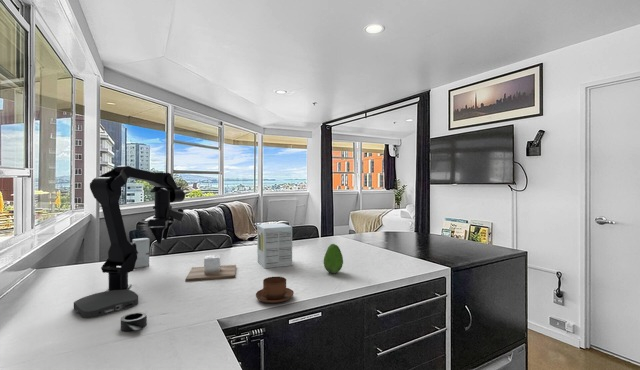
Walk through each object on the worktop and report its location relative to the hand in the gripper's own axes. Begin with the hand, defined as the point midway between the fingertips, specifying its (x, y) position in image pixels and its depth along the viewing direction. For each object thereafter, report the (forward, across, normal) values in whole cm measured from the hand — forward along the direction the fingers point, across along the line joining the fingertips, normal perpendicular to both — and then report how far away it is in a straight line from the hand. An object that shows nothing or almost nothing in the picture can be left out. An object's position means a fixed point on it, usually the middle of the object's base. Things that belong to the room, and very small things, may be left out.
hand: (162, 241), depth 129 cm
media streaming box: (+14, -33, +8) cm, 37 cm away
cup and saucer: (+13, -40, -42) cm, 59 cm away
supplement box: (+13, +4, -46) cm, 48 cm away
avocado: (+13, -17, -68) cm, 71 cm away
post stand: (+13, -6, -20) cm, 25 cm away
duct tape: (+14, -50, -4) cm, 52 cm away
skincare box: (+13, +14, +12) cm, 23 cm away
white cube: (+12, -6, -20) cm, 24 cm away
